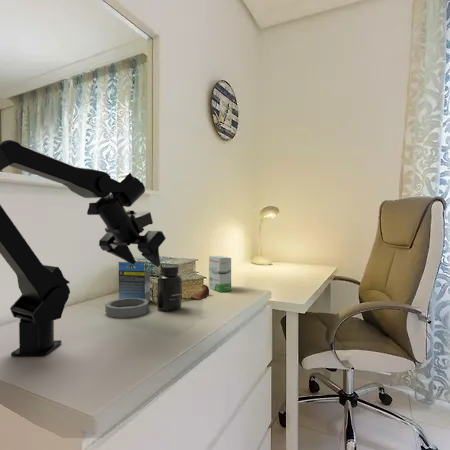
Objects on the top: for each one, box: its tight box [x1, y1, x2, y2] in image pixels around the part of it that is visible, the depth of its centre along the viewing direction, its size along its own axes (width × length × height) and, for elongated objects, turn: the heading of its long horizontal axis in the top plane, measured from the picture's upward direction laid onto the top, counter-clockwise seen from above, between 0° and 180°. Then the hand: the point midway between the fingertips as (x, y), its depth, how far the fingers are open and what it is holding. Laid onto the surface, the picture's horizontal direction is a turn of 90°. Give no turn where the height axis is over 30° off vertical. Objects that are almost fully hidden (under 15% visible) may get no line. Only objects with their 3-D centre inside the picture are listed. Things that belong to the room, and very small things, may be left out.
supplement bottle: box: [156, 265, 183, 312], centre depth 93 cm, size 7×7×12 cm
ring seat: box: [104, 298, 150, 319], centre depth 90 cm, size 11×11×2 cm
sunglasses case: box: [190, 284, 210, 301], centre depth 109 cm, size 18×7×7 cm
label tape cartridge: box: [118, 261, 151, 302], centre depth 101 cm, size 9×4×12 cm, turn 76°
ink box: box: [208, 255, 232, 293], centre depth 118 cm, size 9×5×12 cm, turn 30°
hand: (146, 264), depth 88 cm, fingers open, 9 cm apart
